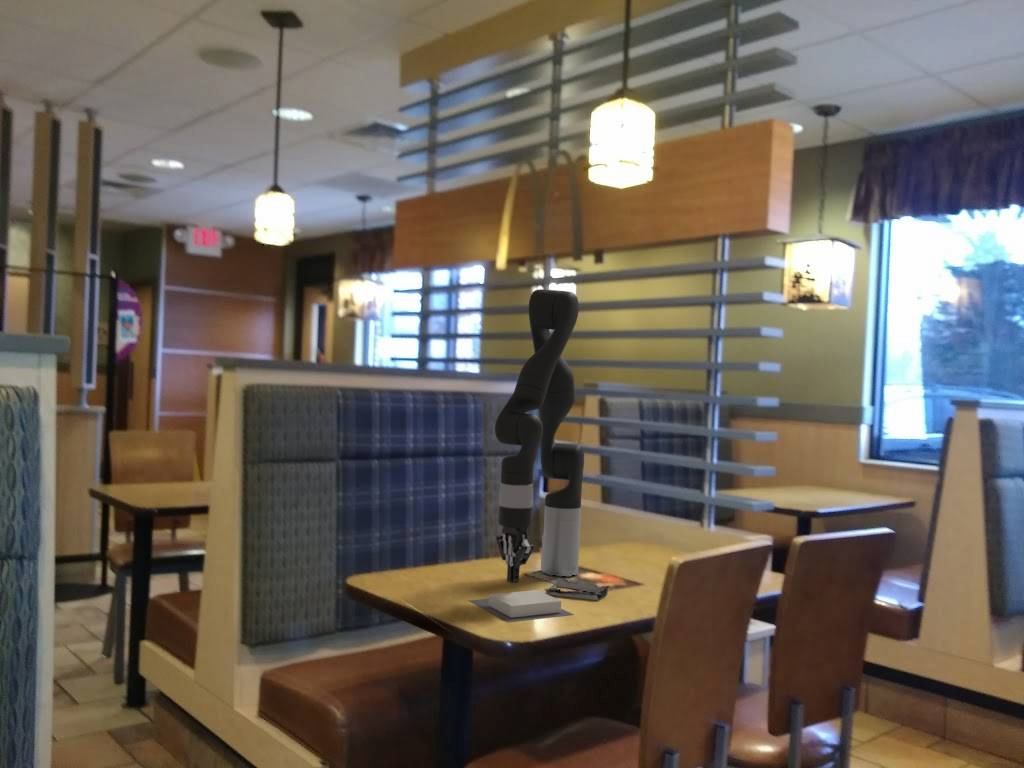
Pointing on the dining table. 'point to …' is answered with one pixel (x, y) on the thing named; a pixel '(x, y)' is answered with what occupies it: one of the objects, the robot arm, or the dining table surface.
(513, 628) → the dining table surface
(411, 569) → the dining table surface
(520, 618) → the rubber mat
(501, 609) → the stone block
